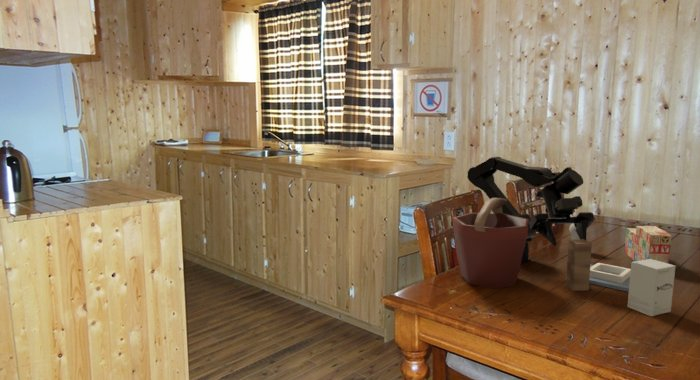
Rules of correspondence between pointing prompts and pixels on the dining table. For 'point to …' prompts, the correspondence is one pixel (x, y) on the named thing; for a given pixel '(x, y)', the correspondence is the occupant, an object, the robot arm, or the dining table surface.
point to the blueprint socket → (610, 276)
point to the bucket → (490, 245)
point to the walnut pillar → (578, 264)
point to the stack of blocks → (648, 243)
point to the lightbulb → (574, 232)
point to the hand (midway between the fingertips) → (570, 244)
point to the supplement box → (651, 287)
